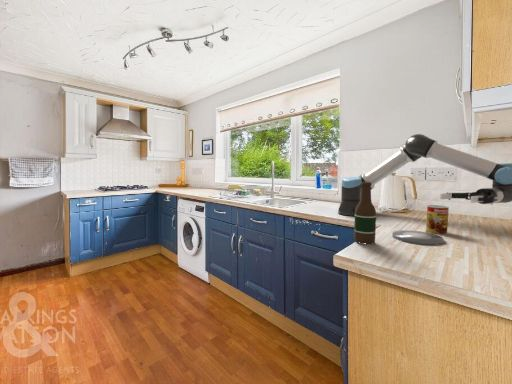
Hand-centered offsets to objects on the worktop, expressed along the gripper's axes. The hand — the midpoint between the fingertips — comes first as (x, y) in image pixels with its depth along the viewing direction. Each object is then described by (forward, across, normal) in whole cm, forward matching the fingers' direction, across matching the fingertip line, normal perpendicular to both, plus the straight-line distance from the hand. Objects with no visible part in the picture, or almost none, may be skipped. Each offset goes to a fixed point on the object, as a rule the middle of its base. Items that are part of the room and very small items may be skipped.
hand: (455, 197), depth 116 cm
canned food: (+10, 0, -16) cm, 19 cm away
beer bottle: (+52, -3, -15) cm, 54 cm away
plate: (+28, -5, -15) cm, 32 cm away
